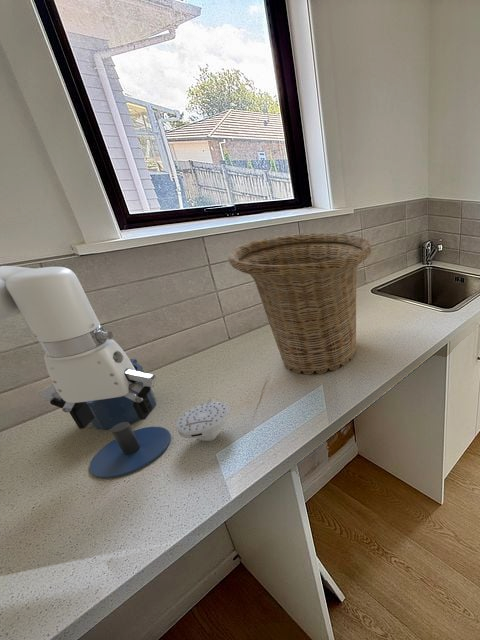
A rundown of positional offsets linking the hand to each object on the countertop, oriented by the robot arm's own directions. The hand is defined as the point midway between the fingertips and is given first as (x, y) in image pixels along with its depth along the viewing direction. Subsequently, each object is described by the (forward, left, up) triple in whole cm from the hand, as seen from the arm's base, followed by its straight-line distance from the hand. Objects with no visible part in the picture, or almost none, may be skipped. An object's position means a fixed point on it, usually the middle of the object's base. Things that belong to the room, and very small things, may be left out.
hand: (117, 419), depth 64 cm
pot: (-8, +14, -9) cm, 19 cm away
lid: (0, 0, -9) cm, 9 cm away
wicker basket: (+35, +31, -9) cm, 47 cm away
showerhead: (+14, +1, -9) cm, 17 cm away
